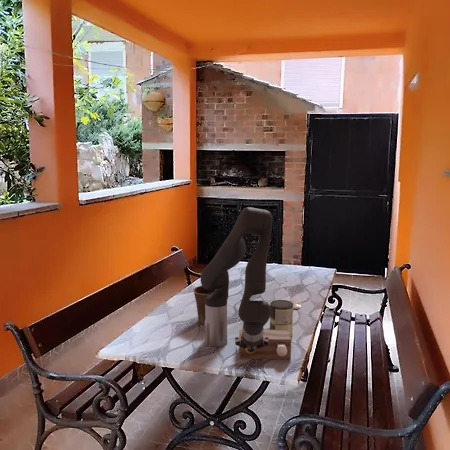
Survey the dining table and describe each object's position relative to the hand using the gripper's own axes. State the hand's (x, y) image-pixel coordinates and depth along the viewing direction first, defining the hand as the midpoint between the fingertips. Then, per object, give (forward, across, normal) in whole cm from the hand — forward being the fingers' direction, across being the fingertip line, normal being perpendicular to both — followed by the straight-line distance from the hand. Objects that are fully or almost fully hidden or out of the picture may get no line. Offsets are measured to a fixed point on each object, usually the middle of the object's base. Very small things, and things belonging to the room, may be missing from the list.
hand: (250, 350), depth 186 cm
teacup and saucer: (+50, -23, -42) cm, 69 cm away
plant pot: (+35, +17, -28) cm, 48 cm away
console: (+10, -6, -2) cm, 12 cm away
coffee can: (+24, -15, -17) cm, 33 cm away
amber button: (+5, 0, -2) cm, 5 cm away
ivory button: (+3, -12, 0) cm, 12 cm away
